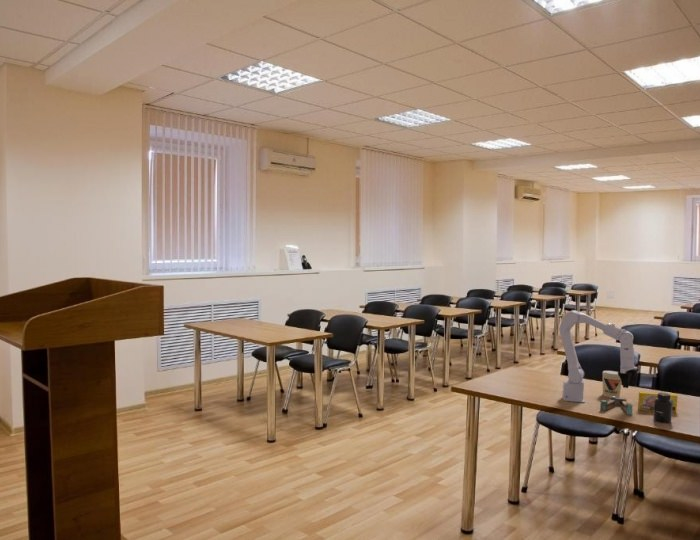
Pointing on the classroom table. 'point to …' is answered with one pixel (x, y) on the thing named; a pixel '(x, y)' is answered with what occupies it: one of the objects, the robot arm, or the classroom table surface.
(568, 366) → the robot arm
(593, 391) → the classroom table surface
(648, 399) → the candy box
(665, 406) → the supplement bottle
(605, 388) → the coffee cup
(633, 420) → the classroom table surface
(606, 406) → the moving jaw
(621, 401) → the tongs base
